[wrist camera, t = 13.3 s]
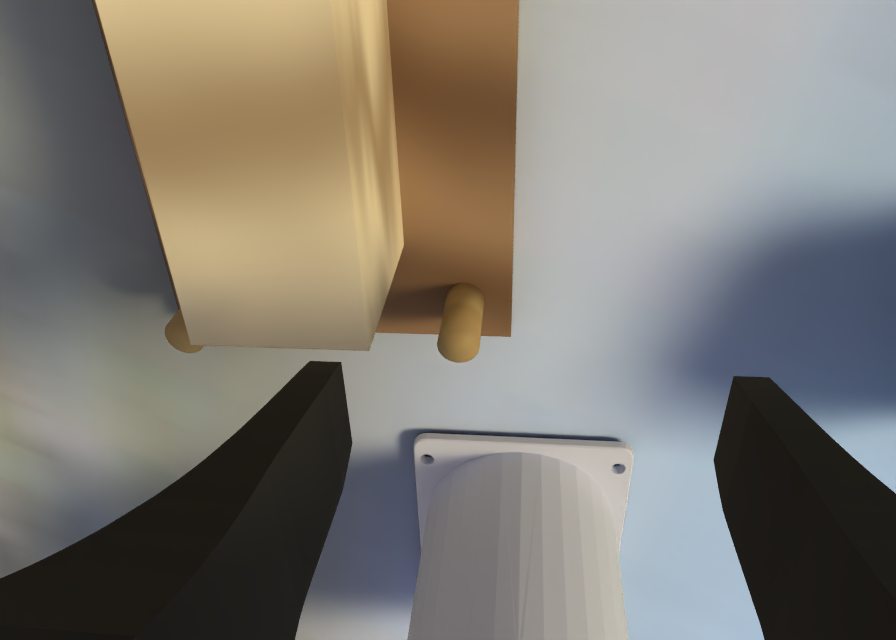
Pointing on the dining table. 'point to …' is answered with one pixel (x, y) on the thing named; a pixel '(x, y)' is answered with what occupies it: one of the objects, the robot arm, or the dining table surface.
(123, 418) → the dining table surface
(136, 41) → the block
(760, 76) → the dining table surface
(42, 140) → the dining table surface
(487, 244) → the chassis
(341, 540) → the dining table surface
